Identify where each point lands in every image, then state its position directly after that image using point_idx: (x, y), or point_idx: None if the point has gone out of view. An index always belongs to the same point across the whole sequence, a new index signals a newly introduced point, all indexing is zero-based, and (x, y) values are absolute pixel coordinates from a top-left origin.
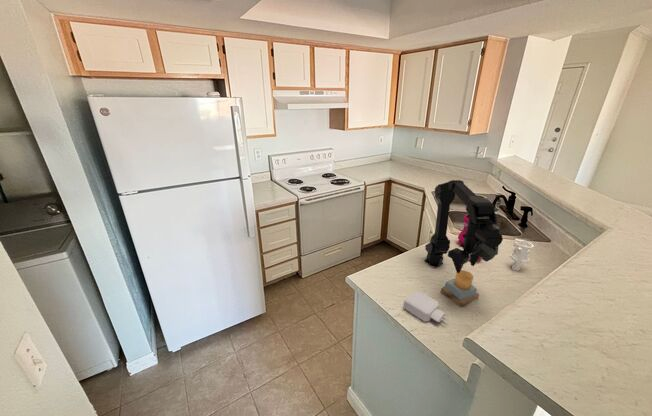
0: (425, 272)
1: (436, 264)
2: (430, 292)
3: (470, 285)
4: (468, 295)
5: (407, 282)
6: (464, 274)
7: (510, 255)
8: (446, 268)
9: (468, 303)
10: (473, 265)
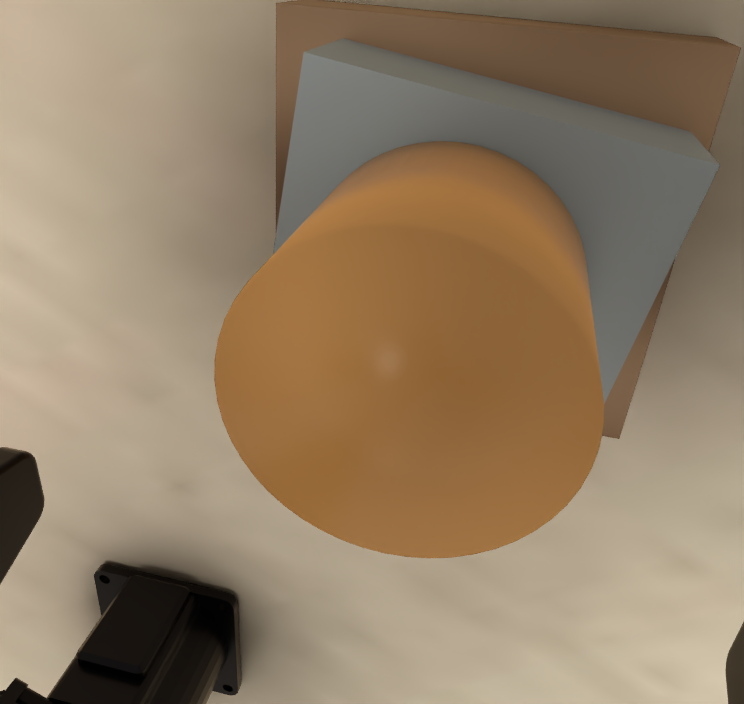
0: (391, 622)
1: (193, 611)
2: (709, 469)
3: (430, 163)
4: (510, 89)
5: (726, 683)
6: (392, 419)
7: None
8: (131, 514)
9: (560, 23)
10: (13, 467)
